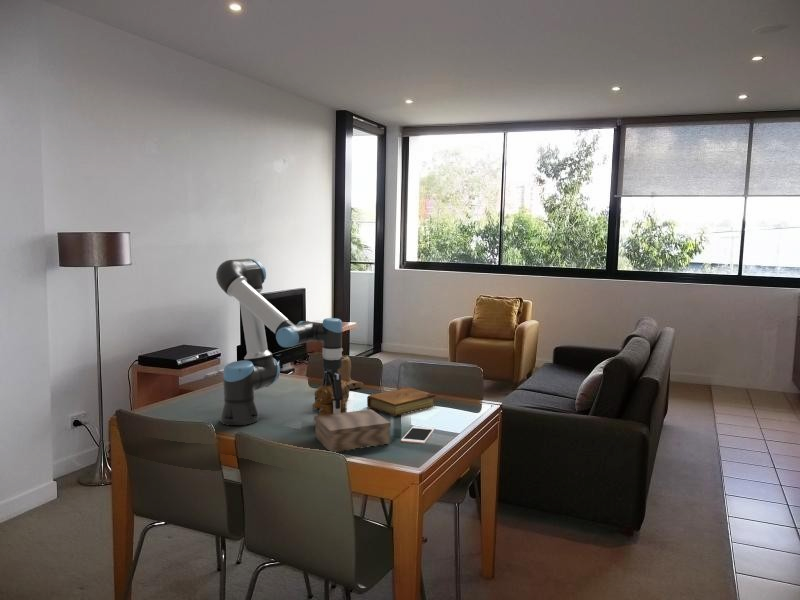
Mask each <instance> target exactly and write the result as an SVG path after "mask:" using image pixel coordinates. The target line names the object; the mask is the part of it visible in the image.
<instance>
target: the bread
mask: <svg viewBox="0 0 800 600" xmlns="http://www.w3.org/2000/svg"><path fill="white" fill-rule="evenodd" d="M341 386H342V395H343V400H344V401H345V403H346V402H348V400H349V396H350V390H351V389H349V384H348V383H347V382H345V381H343V380H341ZM320 387H322V385H321V386H320ZM320 387H318V388H317V389H319V388H320ZM317 389H316V390H315V392H314V400H315V401H314V403H316V399H318V398H320V397H318V395H317V397H316V394H317ZM332 396H333V397H334V395H333V389H332ZM317 409H318V410H320V408H316V410H317Z"/></svg>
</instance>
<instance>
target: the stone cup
mask: <svg viewBox="0 0 800 600" xmlns="http://www.w3.org/2000/svg"><path fill="white" fill-rule="evenodd" d="M341 359H342V367H341V368H340V369H338V370H337V371H338V374H341V380H343V381H345V382H347V383H348V384H349V389H350V390H356V389H358V388H360V387H362V386H364V383H363V382H361V381H357V380H354V379H352V378H351V371H352V363H351V358H350V357H349V355H346V356H344V355H342V357H341ZM355 388H356V389H355Z"/></svg>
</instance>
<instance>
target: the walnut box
mask: <svg viewBox="0 0 800 600" xmlns="http://www.w3.org/2000/svg"><path fill="white" fill-rule="evenodd" d="M313 420H314V422H315V424H314V425H315V438H316V439H317V440H318V441H319V442H320V443H321V445H322V446H323V447H324V448H325V449H326V450H327V451H328V450H330V451H334V452H333V453H339V452H345V451H344V450H347V451H350V450H349V449H353V450H356V449H355V448H360V449H362V448H361V447H367V446H374V447H376V446H375V445H381V446H385V445H384V444H388V445H390V428H391V422H390V421H388V420H387V418H385V417H383V416H382V415H380V414H379V413H377V412H376V411H375V410H374V409H372V408H369V409H362V410H353V411H346V412H344V413H336V414H328V415H320V416H317V415H314V416H313ZM367 448H368V447H367Z"/></svg>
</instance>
